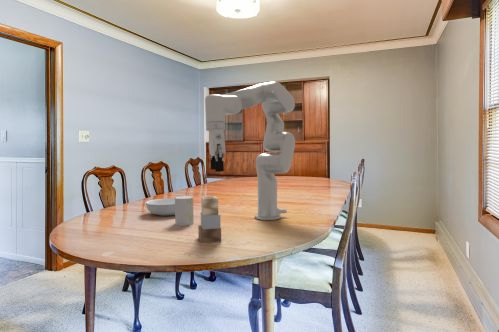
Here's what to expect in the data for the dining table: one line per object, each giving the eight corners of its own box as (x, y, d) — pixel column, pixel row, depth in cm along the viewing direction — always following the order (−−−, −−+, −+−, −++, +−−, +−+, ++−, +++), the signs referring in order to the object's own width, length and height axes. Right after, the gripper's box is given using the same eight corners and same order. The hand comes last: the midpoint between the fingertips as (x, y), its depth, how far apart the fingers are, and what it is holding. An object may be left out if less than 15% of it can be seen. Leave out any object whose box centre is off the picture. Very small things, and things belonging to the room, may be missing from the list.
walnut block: (217, 236, 126) (217, 223, 126) (221, 241, 119) (221, 228, 119) (198, 237, 124) (198, 225, 124) (200, 243, 117) (200, 229, 117)
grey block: (217, 224, 125) (217, 211, 125) (220, 228, 119) (220, 214, 119) (200, 225, 123) (200, 212, 123) (202, 229, 117) (202, 215, 117)
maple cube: (215, 211, 124) (215, 196, 124) (218, 214, 119) (218, 198, 119) (201, 212, 123) (201, 196, 122) (203, 215, 118) (203, 199, 117)
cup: (189, 226, 142) (189, 199, 141) (172, 225, 144) (171, 198, 143) (196, 221, 150) (195, 196, 149) (179, 221, 152) (179, 195, 151)
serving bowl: (195, 212, 171) (195, 199, 171) (165, 220, 153) (165, 206, 153) (168, 208, 182) (167, 196, 182) (137, 215, 165) (136, 202, 164)
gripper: (230, 125, 119) (231, 171, 120) (220, 127, 136) (221, 168, 137) (210, 126, 117) (211, 173, 118) (202, 127, 133) (204, 169, 135)
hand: (217, 170), depth 128 cm, fingers open, 9 cm apart
